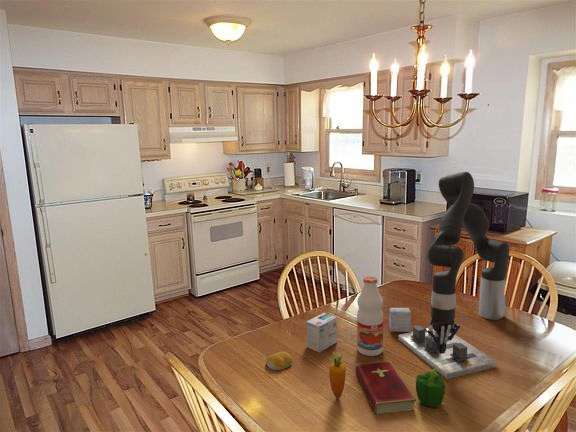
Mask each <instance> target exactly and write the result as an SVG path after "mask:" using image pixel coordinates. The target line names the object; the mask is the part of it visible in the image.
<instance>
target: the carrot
mask: <svg viewBox="0 0 576 432" xmlns="http://www.w3.org/2000/svg"><path fill="white" fill-rule="evenodd" d="M331 355H332V357H333V363H331V364H330V366H329V368H328V370H329V371H328V372H329V373H328V374H329V376H328V377H329V383H330V388H331V391H332V394H333V396H334V397H335V398H336V400H339V399H340V398H341V396H342V395H343V393H344V389H345V383H346V372H347V370H346V366H345V365H344V364H343V363H344V362H343V361H342V359H343V354H342V353H341V354H339V355H338V356H337V357H336V353H335V352H332V353H331Z"/></svg>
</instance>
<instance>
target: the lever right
mask: <svg viewBox="0 0 576 432" xmlns="http://www.w3.org/2000/svg"><path fill="white" fill-rule="evenodd" d="M424 329H425V327H423V326H421V325H415V326H412V332H413V335H411V338H413V339H414V340H415V341H417V342H419V341H424V340H426V337H425V331H424Z"/></svg>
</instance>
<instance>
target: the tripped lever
mask: <svg viewBox="0 0 576 432" xmlns="http://www.w3.org/2000/svg"><path fill="white" fill-rule="evenodd" d="M450 356H452V357H453V358H455V359H456V360H457V361H461V360H466V359H469V357H468V356H467V347H466V346H465V345H463V344H462V343H456V344H453V353H452V354H450Z"/></svg>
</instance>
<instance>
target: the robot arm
mask: <svg viewBox="0 0 576 432" xmlns="http://www.w3.org/2000/svg"><path fill="white" fill-rule="evenodd" d="M438 188H439V189H438V190H439V191H440V194H441V196H442V197H443V199H444V200H445V202H446V203H447V204H448V205H449V208H448V209H447V210H446V211H445V212H444V214H443V215H442V217H441V220H440V223H439V227H438V231H437V235H436V236H435V239H434V241H433V242H432V243H431V245H430V248H429V249H428V253H427V261H428V262H429V264H431V265H432V266H437V267H443V268H450V269H449V270H446V271H445V270H444V271H438V272H434V274H433V275H432V291H431V299H430V317H431V319H430V322H429V326H428V327H424V331H425V332H426V333H427V335H428V336H429V337H430V339H431V340H432V341H434V342H435V343H436V350H437V351H438V352H439V353H440V354H443V353H445V351H446V343H447V341H449V340H450V341H451V340H452V339H453V337H454V336H455V335H457V332H458V331H459V329H460V328H461V326H460V324H458V323H456V322H455V318H456V307H457V303H456V301H457V296H456V288H457V287H456V286H457V277H458V274H459V271H460V268H461V265H462V264H463V261H464V250H463V249H462V248H461V247H460V246H457V244H458V243H459V242H460V241H461V236H462V230H463V229H462V228H464V230H465V231H466V233H467V234H468V236H469V238H470V239H471V241H472V244H473V246H474V249H475V250H476V253H477V255H478V257H479V259H481V260H483V261H486V262H490V263H493V267H485V268H483V269H482V270H481V273H480V285H479V286H480V288H479V304H478V316H480V317H482V318H484V319H487V320H492V321H493V320H494V321H496V320H497V321H498V320H502V319H503V318H504V317H505V314H506V301H507V300H506V299H507V295H506V294H505V290H506V289H505V287H506V275H507V271H508V267H509V266H508V265H509V257H510V246H509V244H508V243H507V242H505V241H501V240H495V239H490V238H489V237H488V236H487V235H486V234H487V233H488V231H489V229H490V225H491V224H490V220H489V218H488V216H487V214H486V213H485V211H484V209H483V208H482V207H480V206H479V205H477V204H475V203H473V202H471V200H472V199H473V198H472V197H473V194H474V192H475V181H474V177H473V176H472V174H471V173H470V172H468V171H460V172H454V173H450V174H446V175H443V176H441V177H440V178H439V180H438ZM433 330H434V332H433ZM433 333H435V335H434V334H433ZM450 333H451V335H450ZM449 335H450V336H449Z"/></svg>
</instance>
